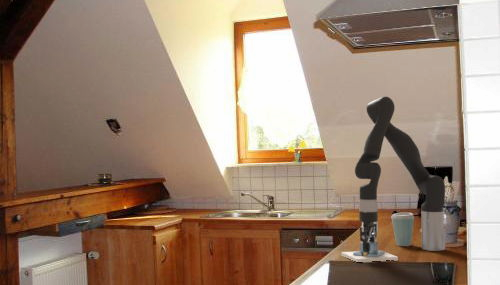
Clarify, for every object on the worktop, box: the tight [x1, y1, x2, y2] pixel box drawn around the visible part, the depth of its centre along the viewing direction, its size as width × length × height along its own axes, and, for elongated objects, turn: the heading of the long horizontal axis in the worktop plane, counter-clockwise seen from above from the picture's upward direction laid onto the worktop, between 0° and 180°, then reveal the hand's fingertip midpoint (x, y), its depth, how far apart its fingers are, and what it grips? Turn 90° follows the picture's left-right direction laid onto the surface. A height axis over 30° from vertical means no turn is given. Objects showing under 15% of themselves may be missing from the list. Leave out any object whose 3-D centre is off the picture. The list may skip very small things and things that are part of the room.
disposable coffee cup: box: [390, 212, 415, 247], centre depth 268 cm, size 11×11×15 cm
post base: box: [340, 242, 399, 263], centre depth 237 cm, size 18×16×6 cm
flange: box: [353, 241, 386, 258], centre depth 237 cm, size 10×10×5 cm
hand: (368, 250), depth 237 cm, fingers open, 6 cm apart
